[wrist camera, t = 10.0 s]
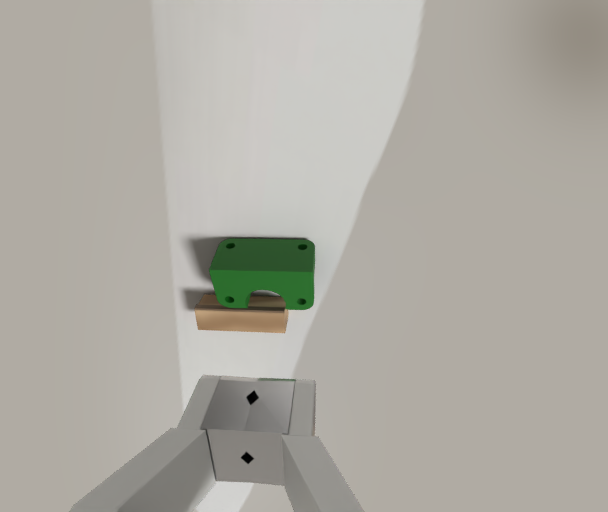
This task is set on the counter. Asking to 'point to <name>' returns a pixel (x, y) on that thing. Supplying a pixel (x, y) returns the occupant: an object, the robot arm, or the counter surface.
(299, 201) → the counter surface
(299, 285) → the clamp
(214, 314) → the stop rail
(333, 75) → the counter surface
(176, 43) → the counter surface
